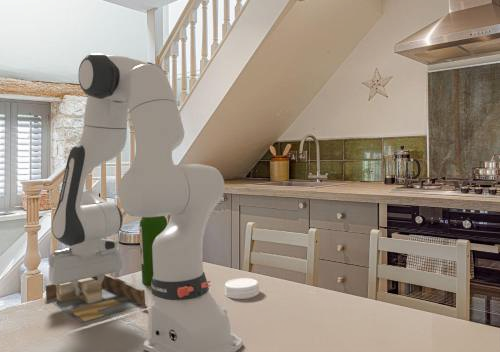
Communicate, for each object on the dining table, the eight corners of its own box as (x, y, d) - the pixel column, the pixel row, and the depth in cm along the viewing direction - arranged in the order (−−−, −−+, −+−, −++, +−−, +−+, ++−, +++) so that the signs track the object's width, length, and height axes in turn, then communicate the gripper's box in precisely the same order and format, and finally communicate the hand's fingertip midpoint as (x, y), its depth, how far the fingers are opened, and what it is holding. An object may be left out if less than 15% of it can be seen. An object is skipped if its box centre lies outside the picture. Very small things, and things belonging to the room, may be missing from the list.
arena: (145, 306, 118) (144, 290, 117) (81, 325, 106) (80, 307, 106) (103, 286, 138) (103, 272, 137) (46, 300, 126) (45, 285, 126)
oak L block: (102, 299, 123) (101, 282, 123) (70, 308, 117) (69, 290, 117) (87, 291, 131) (86, 275, 131) (56, 299, 125) (55, 282, 125)
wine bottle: (141, 280, 142) (136, 183, 140) (168, 277, 145) (164, 181, 143) (143, 288, 134) (137, 185, 132) (172, 285, 136) (167, 183, 135)
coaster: (262, 289, 129) (262, 278, 129) (254, 300, 120) (254, 288, 119) (230, 288, 132) (230, 276, 131) (220, 299, 122) (220, 287, 122)
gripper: (51, 254, 115) (55, 304, 116) (123, 241, 129) (125, 286, 130) (44, 250, 120) (47, 299, 120) (113, 238, 133) (116, 282, 134)
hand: (88, 292), depth 125 cm, fingers closed on oak L block, 4 cm apart
